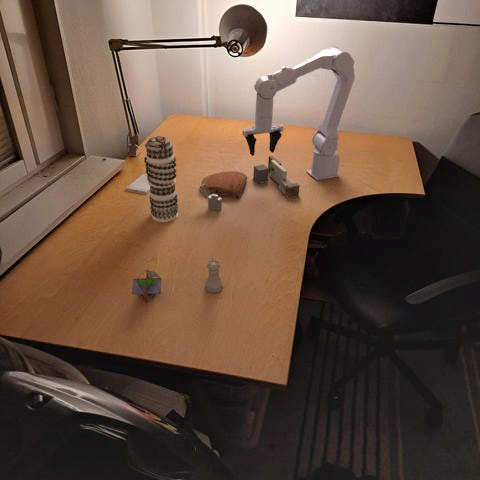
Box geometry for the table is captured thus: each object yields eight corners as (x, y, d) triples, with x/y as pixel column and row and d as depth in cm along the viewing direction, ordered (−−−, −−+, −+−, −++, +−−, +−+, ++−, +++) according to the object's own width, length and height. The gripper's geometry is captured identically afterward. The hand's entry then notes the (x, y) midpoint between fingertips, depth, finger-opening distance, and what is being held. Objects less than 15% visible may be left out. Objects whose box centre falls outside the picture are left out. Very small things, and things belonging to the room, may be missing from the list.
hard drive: (143, 173, 164) (125, 187, 154) (163, 176, 162) (146, 191, 152) (143, 177, 165) (125, 191, 155) (163, 180, 163) (147, 195, 153)
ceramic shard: (209, 163, 163) (249, 173, 162) (206, 179, 166) (245, 189, 165) (198, 175, 150) (242, 186, 149) (195, 193, 153) (238, 204, 152)
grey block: (263, 177, 166) (263, 164, 163) (267, 181, 163) (268, 168, 160) (253, 178, 165) (253, 166, 162) (257, 183, 162) (258, 170, 159)
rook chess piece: (204, 282, 114) (204, 257, 110) (222, 282, 115) (222, 256, 110) (205, 294, 111) (204, 268, 106) (223, 293, 111) (223, 267, 106)
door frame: (271, 170, 171) (272, 155, 167) (299, 195, 154) (301, 179, 151) (260, 171, 169) (261, 157, 166) (288, 197, 153) (289, 182, 149)
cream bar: (272, 175, 166) (273, 159, 163) (285, 187, 159) (286, 171, 155) (268, 176, 166) (268, 160, 162) (280, 187, 158) (281, 171, 155)
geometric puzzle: (160, 303, 104) (159, 269, 105) (130, 304, 104) (129, 270, 104) (162, 301, 111) (162, 268, 112) (134, 302, 111) (134, 269, 111)
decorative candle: (171, 225, 137) (165, 147, 123) (144, 219, 139) (136, 142, 125) (184, 211, 144) (180, 136, 130) (159, 205, 146) (152, 131, 132)
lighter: (221, 209, 145) (221, 187, 141) (219, 212, 144) (219, 189, 139) (202, 204, 148) (202, 182, 143) (200, 206, 146) (199, 184, 142)
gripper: (277, 109, 156) (275, 146, 163) (239, 113, 151) (238, 151, 158) (287, 115, 150) (284, 153, 158) (247, 120, 146) (246, 159, 153)
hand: (261, 153), depth 158 cm, fingers open, 7 cm apart
